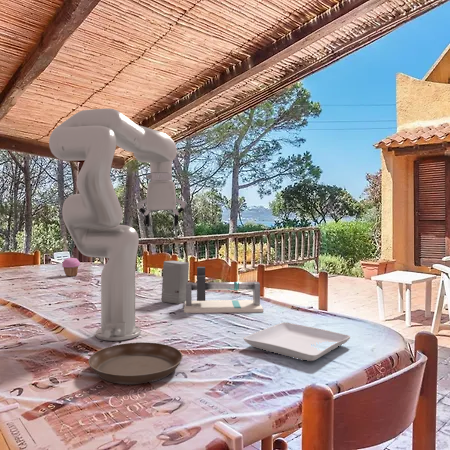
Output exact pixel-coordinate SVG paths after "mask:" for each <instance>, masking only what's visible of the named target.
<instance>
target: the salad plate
mask: <svg viewBox="0 0 450 450" xmlns="http://www.w3.org/2000/svg"><path fill="white" fill-rule="evenodd" d="M350 339H351V336H350V335H348V334H344V333H339V332H335V331H330V330H325V329H322V328H317V327H314V326H313V327H312V326H307V325H302V324H297V323H291V322H281V323H278V324H275V325H272V326H269V327H266V328H264V329H261V330H258V331H256V332H254V333H252V334H249V335H247V336H244V337H243V340H244V342H246V343H247V344H248V345H250V346H251V347H254V348H257V349H260V350H262V349H263V350H262V351H264V350H266V351H265V352H268V351H270V352H269V353H271V352H274V353H273V354H275V353H278V354H277V355H279V354H282V355H281V356H283V355H286V356H290V357H294V358H298V359H302V360H301V361H303V360H307V361H306V362H312V361H316V360H318V359H320V358H321V357H323V356H325V355H327V354H329V353H330V352H331V350H332V351H333V350H335V349H338V348H339V347H341V346H343V345H344V344H346V343H347V342H348V341H349V340H350ZM325 341H326V342H327V341H328V342H337V343H335V344H333V345H331V346H330V347H328V348H326V349H325V350H323V351H320V350H319V351H318V350H317V348H314V347H315V346H316V342H317V343H318V344H319V342H320V343H322V342H325ZM311 344H312V345H313V344H314V345H315V346H314V347H313V346H312V347H311ZM342 344H343V345H342ZM340 345H341V346H340ZM338 346H339V347H338ZM318 349H319V348H318ZM286 356H285V357H286ZM290 357H289V358H290ZM294 358H293V359H294ZM298 359H297V360H298Z"/></svg>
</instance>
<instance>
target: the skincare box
mask: <svg viewBox="0 0 450 450" xmlns="http://www.w3.org/2000/svg"><path fill="white" fill-rule="evenodd" d="M189 266H190V262H186V261H179V260H166V261H163V267H162V269H163V270H162V283H161V303H167V304H168V303H169V304H175V305H176V304H177V305H180V304H182V303H185V301H186V282H189V272H190V270H189Z"/></svg>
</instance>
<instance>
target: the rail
mask: <svg viewBox="0 0 450 450" xmlns="http://www.w3.org/2000/svg"><path fill="white" fill-rule="evenodd" d="M246 290H247V291H252V300H253V304H254V306H255V305H260V304H261V283H260V282H259V281H245V282H244V281H243V282H242V281H241V282H240V281H233V282H232V281H231V282H230V281H229V282H227V281H226V282H225V281H223V282H212V281H211V282H208V281H207V282H206V281H205V291H246ZM192 291H197V282H192V281H188V282H186V306H191V304H192V301H193V300H192V296H193V295H192V294H193V293H192Z"/></svg>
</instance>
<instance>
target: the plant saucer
mask: <svg viewBox="0 0 450 450" xmlns="http://www.w3.org/2000/svg"><path fill="white" fill-rule="evenodd" d="M183 357H184V356H183V353H182V352H181V350H179V349H178V348H176V347H174V346H171V345H168V344H165V343H164V344H163V343H158V342H142V341H140V342H128V343H127V342H126V343H119V344H115V345H111V346H107V347H104V348H101V349H100V350H97V351H96V352H94V353H92V354H91V355H90V356H89V358H88V364H89V367H90V368H91V370H92V371H93V372H94V373H95V374H96V375H97V376H99V378H101V379H103V380H105V381H107V382H109V383H113V384H118V385H141V383H144V384H148V383H147V382H149V383H153V382H156V380H157V381H159V379H160V380H163V379H165V378H166V377H168V376H169V375H171V374H172V373H173V372H174V371H175V370H176V369H177V368H178V367H179V365H180V364H181V362H182V361H183ZM152 381H153V382H152Z"/></svg>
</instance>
